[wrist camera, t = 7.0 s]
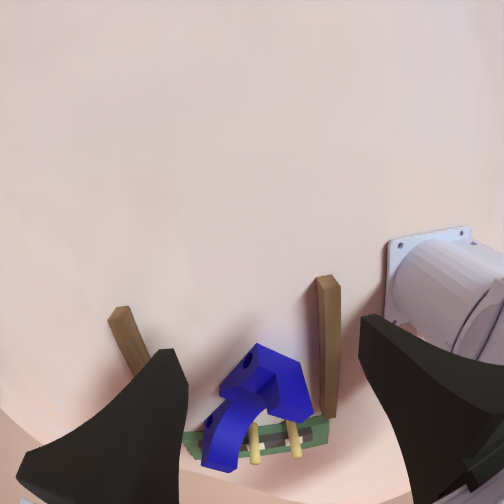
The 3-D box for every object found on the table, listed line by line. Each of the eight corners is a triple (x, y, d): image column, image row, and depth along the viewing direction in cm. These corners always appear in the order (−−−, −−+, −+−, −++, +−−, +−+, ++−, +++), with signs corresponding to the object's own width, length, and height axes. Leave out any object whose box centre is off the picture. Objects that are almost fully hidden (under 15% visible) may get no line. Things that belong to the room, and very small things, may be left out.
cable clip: (256, 341, 22) (262, 395, 16) (299, 361, 23) (313, 412, 17) (191, 414, 25) (185, 461, 19) (229, 428, 26) (229, 473, 20)
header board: (326, 409, 25) (338, 445, 20) (325, 436, 27) (334, 468, 22) (179, 427, 25) (174, 463, 20) (195, 452, 27) (192, 484, 22)
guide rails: (331, 274, 20) (340, 286, 18) (330, 403, 25) (335, 417, 23) (116, 307, 20) (107, 320, 18) (173, 422, 25) (171, 436, 23)
